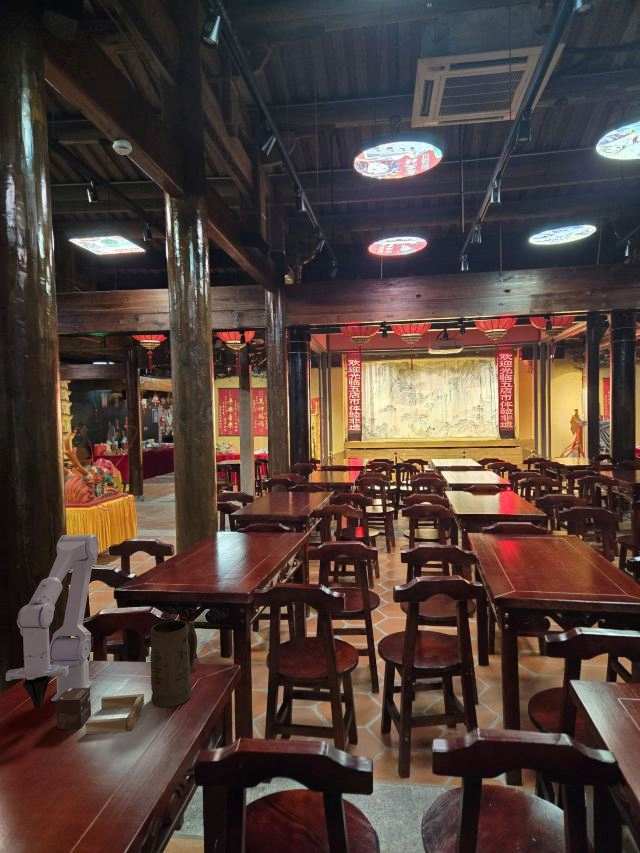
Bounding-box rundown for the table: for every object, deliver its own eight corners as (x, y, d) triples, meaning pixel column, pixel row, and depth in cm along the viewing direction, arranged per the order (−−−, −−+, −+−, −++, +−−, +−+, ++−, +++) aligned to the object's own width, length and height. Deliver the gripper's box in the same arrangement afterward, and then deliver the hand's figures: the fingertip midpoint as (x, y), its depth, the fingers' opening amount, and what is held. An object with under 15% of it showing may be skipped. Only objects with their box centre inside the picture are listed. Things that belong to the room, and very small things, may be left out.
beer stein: (174, 712, 136) (175, 633, 137) (141, 705, 140) (141, 628, 141) (207, 687, 151) (207, 616, 152) (175, 682, 154) (176, 612, 155)
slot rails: (103, 707, 140) (102, 696, 140) (144, 704, 141) (143, 693, 141) (85, 734, 127) (85, 723, 127) (130, 731, 128) (130, 719, 128)
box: (80, 728, 130) (79, 699, 130) (56, 729, 130) (55, 700, 130) (91, 715, 136) (90, 687, 136) (68, 715, 136) (67, 687, 136)
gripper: (-2, 661, 128) (0, 716, 128) (59, 656, 129) (62, 712, 129) (13, 648, 135) (15, 701, 135) (71, 645, 136) (73, 697, 136)
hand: (38, 705), depth 133 cm, fingers closed
